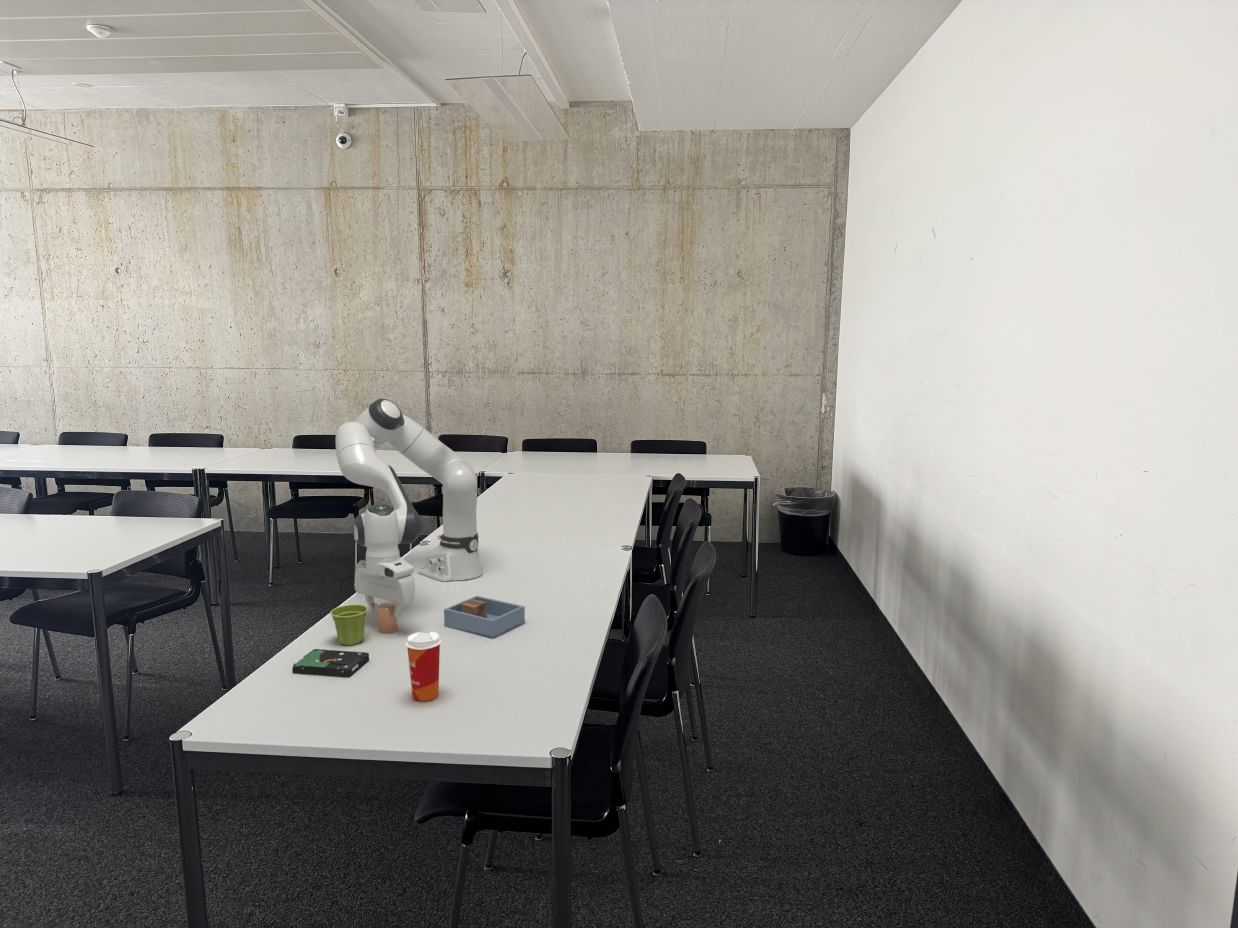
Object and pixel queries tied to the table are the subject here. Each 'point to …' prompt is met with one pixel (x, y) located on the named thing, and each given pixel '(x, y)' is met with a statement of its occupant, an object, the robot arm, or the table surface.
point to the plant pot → (349, 623)
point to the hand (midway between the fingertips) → (384, 613)
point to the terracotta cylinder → (387, 618)
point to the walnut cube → (474, 608)
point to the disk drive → (331, 663)
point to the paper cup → (424, 665)
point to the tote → (496, 623)
